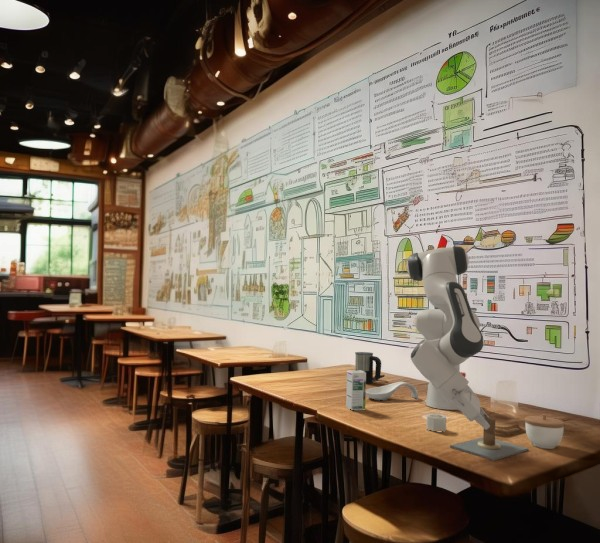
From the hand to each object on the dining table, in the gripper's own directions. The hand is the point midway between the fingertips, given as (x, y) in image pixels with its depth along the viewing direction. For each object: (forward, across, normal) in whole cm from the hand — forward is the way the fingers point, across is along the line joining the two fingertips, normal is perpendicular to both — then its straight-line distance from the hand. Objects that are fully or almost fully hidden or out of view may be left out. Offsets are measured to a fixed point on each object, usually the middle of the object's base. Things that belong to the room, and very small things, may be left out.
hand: (487, 423), depth 153 cm
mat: (+5, 0, +5) cm, 7 cm away
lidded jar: (+17, +11, -6) cm, 21 cm away
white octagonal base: (-6, +15, +16) cm, 23 cm away
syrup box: (-28, +33, +38) cm, 58 cm away
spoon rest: (-21, +61, +32) cm, 72 cm away
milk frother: (-33, +100, +44) cm, 115 cm away
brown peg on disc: (+5, 0, +4) cm, 7 cm away
